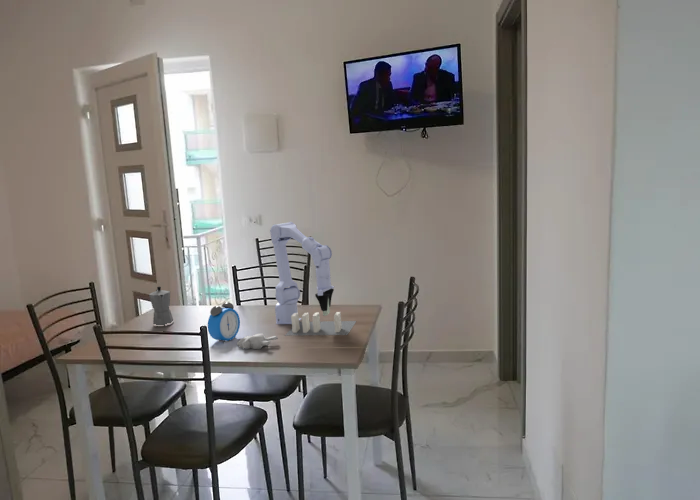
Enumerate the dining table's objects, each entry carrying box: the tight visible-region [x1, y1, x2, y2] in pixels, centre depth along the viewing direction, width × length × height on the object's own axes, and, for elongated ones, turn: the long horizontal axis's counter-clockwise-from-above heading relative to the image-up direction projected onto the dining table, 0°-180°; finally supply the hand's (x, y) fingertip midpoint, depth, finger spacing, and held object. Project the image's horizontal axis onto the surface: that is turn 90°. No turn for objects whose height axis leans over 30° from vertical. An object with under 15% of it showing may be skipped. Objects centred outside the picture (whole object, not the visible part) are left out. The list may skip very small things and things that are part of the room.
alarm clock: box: [207, 301, 241, 343], centre depth 222 cm, size 13×6×15 cm, turn 151°
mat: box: [284, 320, 357, 337], centre depth 229 cm, size 26×19×1 cm
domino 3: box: [312, 311, 321, 332], centre depth 225 cm, size 2×5×7 cm, turn 168°
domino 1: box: [291, 312, 300, 333], centre depth 227 cm, size 2×5×7 cm, turn 169°
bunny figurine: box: [236, 333, 279, 350], centre depth 211 cm, size 10×5×15 cm
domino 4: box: [322, 298, 331, 317], centre depth 223 cm, size 2×5×7 cm, turn 169°
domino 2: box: [301, 312, 311, 333], centre depth 226 cm, size 2×5×7 cm, turn 168°
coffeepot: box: [148, 286, 174, 325], centre depth 254 cm, size 15×9×18 cm, turn 26°
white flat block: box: [333, 311, 342, 332], centre depth 223 cm, size 2×5×7 cm, turn 168°
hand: (326, 308), depth 223 cm, fingers closed on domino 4, 5 cm apart
